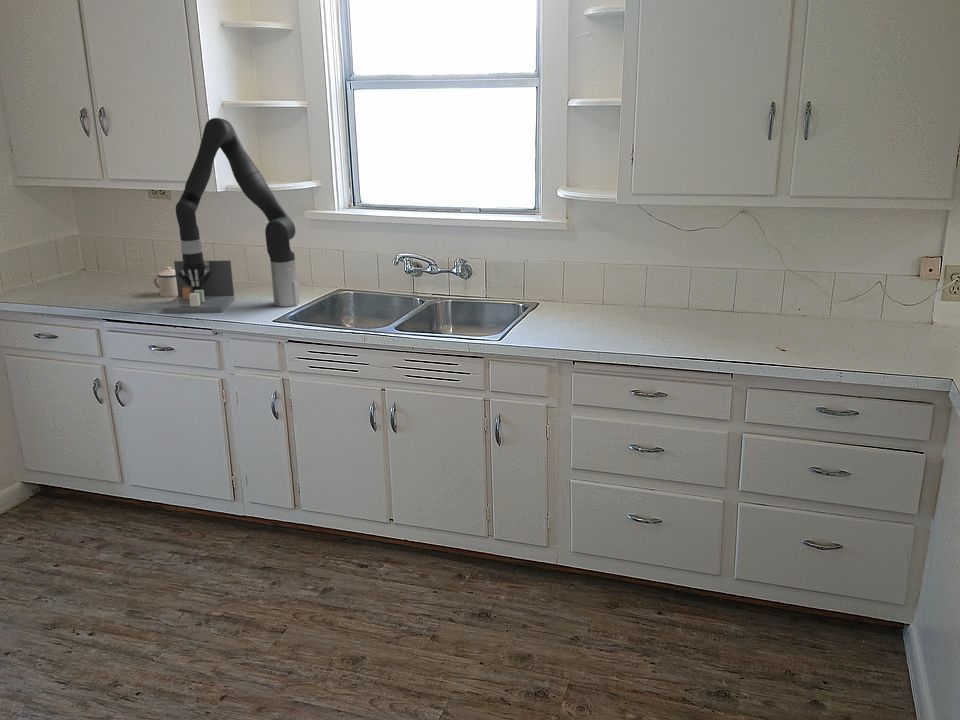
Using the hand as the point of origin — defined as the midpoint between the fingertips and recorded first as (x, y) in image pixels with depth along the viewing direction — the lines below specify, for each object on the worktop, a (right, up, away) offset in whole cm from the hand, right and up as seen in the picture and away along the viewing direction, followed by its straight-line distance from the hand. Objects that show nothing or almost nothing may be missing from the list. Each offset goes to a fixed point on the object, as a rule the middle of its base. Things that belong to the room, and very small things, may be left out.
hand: (197, 295), depth 338 cm
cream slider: (+2, -5, -10) cm, 11 cm away
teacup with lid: (-18, +1, +17) cm, 25 cm away
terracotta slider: (-4, -1, 0) cm, 4 cm away
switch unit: (+1, -4, -2) cm, 5 cm away
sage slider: (+2, -3, -5) cm, 6 cm away
